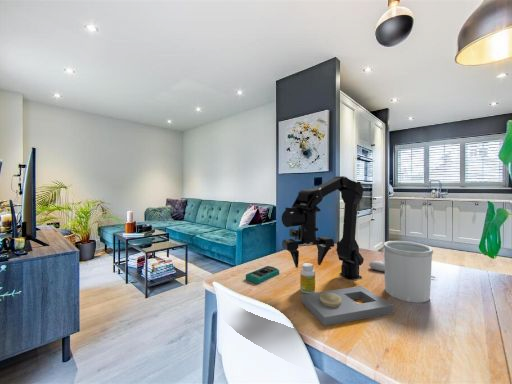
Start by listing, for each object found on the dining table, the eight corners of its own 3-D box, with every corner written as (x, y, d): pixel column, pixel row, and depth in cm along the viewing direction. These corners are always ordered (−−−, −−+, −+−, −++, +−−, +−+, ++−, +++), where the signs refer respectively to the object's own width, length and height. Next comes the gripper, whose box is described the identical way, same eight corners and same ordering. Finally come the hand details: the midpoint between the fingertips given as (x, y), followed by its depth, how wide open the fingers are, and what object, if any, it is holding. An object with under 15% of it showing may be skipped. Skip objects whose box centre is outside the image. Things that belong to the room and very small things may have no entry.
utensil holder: (419, 308, 76) (420, 254, 75) (374, 290, 89) (375, 244, 88) (439, 296, 84) (441, 247, 83) (395, 281, 96) (396, 238, 96)
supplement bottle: (305, 295, 85) (306, 268, 85) (297, 288, 90) (297, 263, 90) (318, 292, 87) (318, 266, 87) (309, 286, 92) (309, 261, 92)
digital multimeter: (280, 274, 105) (280, 268, 105) (258, 285, 94) (258, 278, 94) (267, 270, 110) (267, 264, 110) (244, 280, 99) (244, 273, 99)
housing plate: (361, 292, 87) (361, 281, 87) (393, 313, 73) (393, 300, 73) (301, 301, 80) (301, 290, 80) (324, 326, 67) (324, 312, 67)
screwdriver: (436, 285, 97) (437, 276, 96) (368, 270, 110) (369, 262, 109) (434, 278, 101) (435, 269, 100) (369, 265, 114) (370, 257, 112)
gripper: (319, 219, 98) (318, 257, 99) (276, 222, 93) (276, 261, 94) (335, 224, 87) (334, 266, 88) (288, 227, 82) (288, 271, 83)
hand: (308, 266), depth 88 cm, fingers open, 9 cm apart
